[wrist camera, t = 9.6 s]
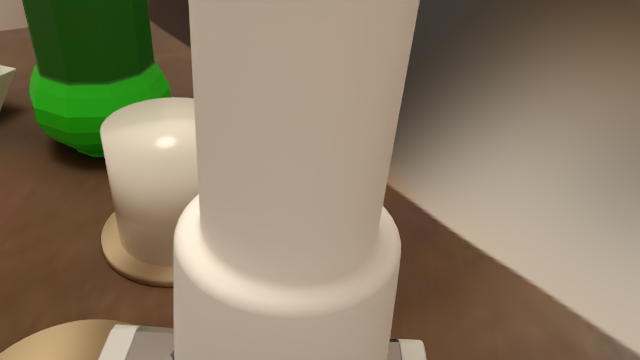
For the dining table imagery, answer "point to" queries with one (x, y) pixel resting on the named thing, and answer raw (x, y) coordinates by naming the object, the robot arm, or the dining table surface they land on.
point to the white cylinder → (151, 173)
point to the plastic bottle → (89, 66)
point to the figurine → (5, 81)
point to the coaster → (132, 260)
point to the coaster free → (64, 342)
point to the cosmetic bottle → (291, 180)
